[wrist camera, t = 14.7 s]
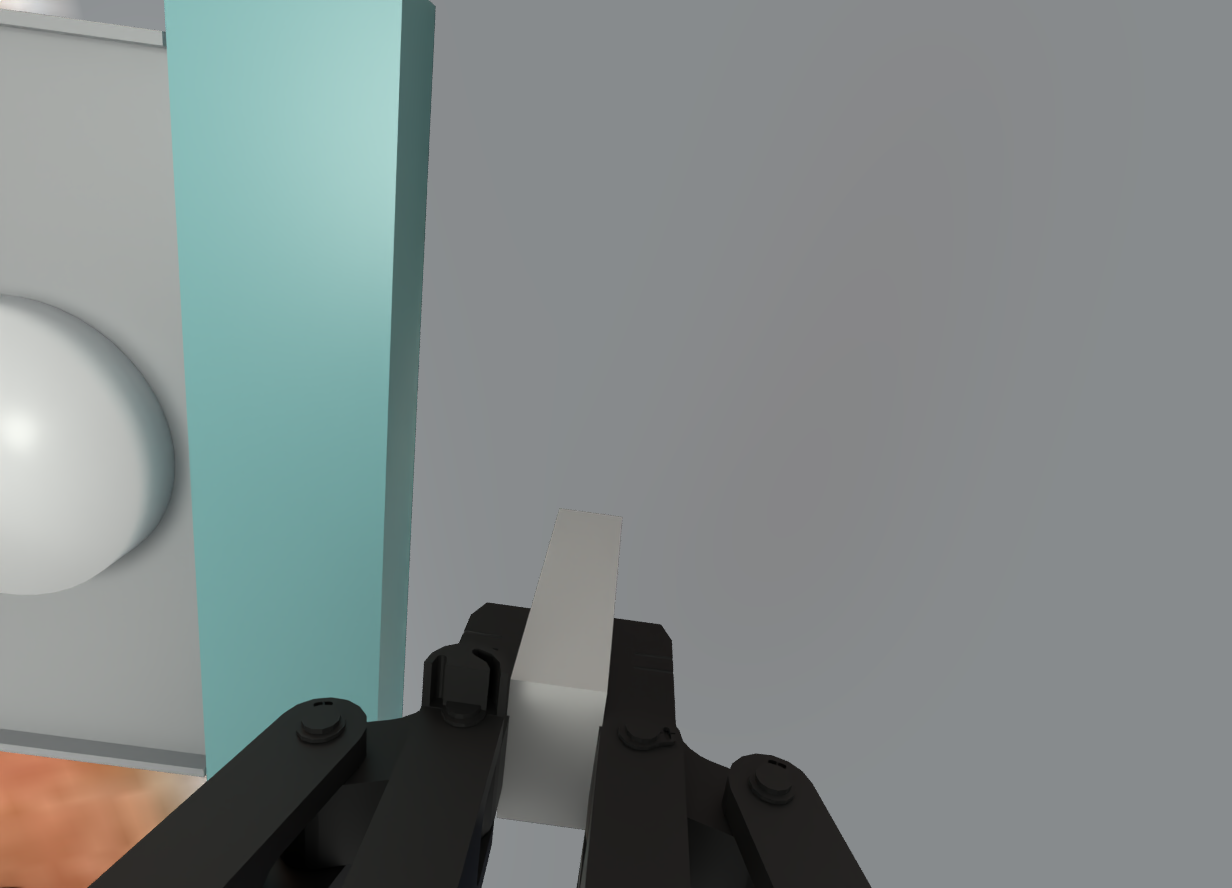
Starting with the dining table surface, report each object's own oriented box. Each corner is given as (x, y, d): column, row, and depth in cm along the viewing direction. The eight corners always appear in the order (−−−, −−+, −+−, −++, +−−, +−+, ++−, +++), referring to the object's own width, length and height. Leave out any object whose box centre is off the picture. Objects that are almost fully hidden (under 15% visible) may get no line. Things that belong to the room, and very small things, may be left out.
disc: (-94, 543, 22) (-147, 569, 21) (-137, 269, 20) (-201, 277, 18) (178, 587, 22) (144, 616, 21) (171, 322, 20) (132, 334, 18)
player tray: (-96, 740, 26) (-174, 799, 23) (-271, -93, 18) (-417, -138, 15) (398, 803, 26) (372, 868, 23) (435, 6, 18) (402, -23, 16)
